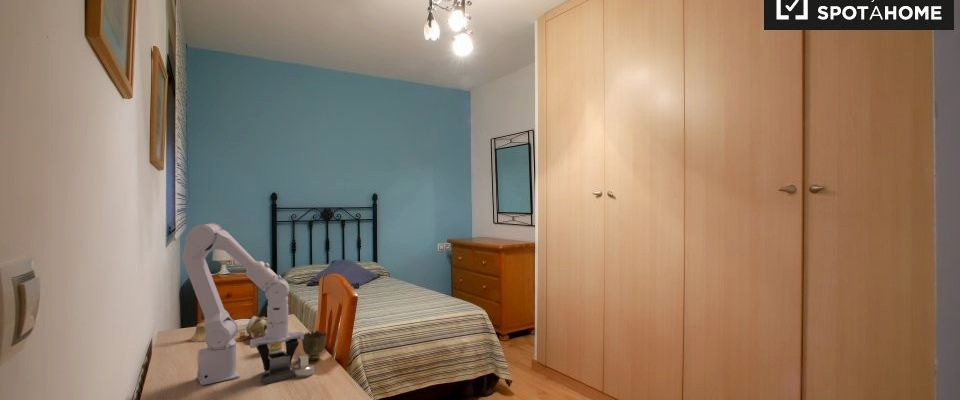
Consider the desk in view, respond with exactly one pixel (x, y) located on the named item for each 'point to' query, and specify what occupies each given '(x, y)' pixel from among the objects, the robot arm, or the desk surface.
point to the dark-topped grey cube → (278, 362)
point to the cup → (314, 344)
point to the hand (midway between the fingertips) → (277, 367)
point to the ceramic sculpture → (257, 327)
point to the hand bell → (199, 330)
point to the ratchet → (290, 372)
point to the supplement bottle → (274, 346)
